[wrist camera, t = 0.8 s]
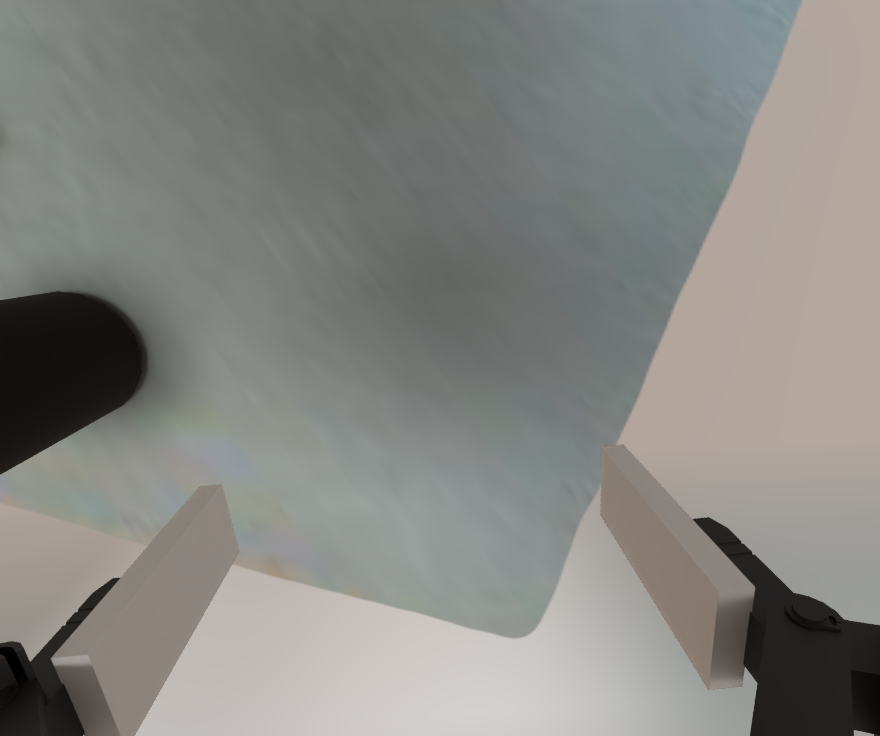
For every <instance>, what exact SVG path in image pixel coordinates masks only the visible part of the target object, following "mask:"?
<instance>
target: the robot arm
mask: <svg viewBox="0 0 880 736" xmlns="http://www.w3.org/2000/svg"><path fill="white" fill-rule="evenodd" d="M601 517H602V518H603V520H604V522H605V523H606V525H607V527H608V528H609V530H610V531H611V533H612V534H613V536H614V538H615V540H616V541H617V543H618V544H619V546H620V548H621V549H622V551H623V552H624V554H625V556H626V557H627V559H628V561H629V562H630V564H631V565H632V567H633V569H634V570H635V572H636V573H637V575H638V577H639V578H640V580H641V582H642V583H643V585H644V587H645V588H646V590H647V591H648V593H649V595H650V596H651V598H652V599H653V601H654V603H655V604H656V606H657V608H658V609H659V611H660V612H661V614H662V616H663V617H664V619H665V621H666V622H667V624H668V625H669V627H670V628H671V630H672V632H673V634H674V635H675V637H676V638H677V640H678V641H679V643H680V645H681V646H682V648H683V649H684V651H685V653H686V655H687V656H688V658H689V659H690V661H691V663H692V664H693V666H694V668H695V669H696V671H697V672H698V674H699V676H700V677H701V679H702V681H703V682H704V684H705V685H706V687H707V689H708V690H715V689H725V688H735V687H742V684H743V676H744V668H745V667H746V668H747V669H748V671H749V672H750V674H751V675H752V676H753V678H754V679H755V680H756V682H757V683H758V684H757V691H756V698H755V705H754V712H753V718H752V725H751V732H750V736H854V730H858V731H862V732H867V733H871V734H874V736H880V625H874V624H867V623H860V622H854V621H848V620H844V619H843V618H842V617H841V616H840V615H839V614H838V613H837V612H836V611H835V610H833V609H832V608H830V607H829V606H827V605H826V604H824V603H823V602H820V601H818V600H816V599H814V598H811V597H809V596H805V595H800V594H796V593H793V592H792V591H791V590H790V589H789V588H788V587H787V586H786V585H785V584H784V583H783V582H782V581H781V580H780V579H779V578H778V577H777V576H776V575H775V574H774V573H773V572H772V571H771V570H770V569H769V568H768V567H767V566H766V565H765V564H764V563H763V562H762V561H761V560H760V559H759V558H757V556H755V555H753V554H752V552H751V550H749V549H748V548H747V547H746V546H745V545H744V544H742V543H741V541H740V540H739V539H738V538H737V537H736V536H735V535H734V534H733V533H732V532H731V531H730V530H729V529H728V528H727V527H725V526H723V525H721V524H720V523H718V522H716V521H714V520H713V519H711V518H709V517H707V518H698V519H692V518H691V517H690V516H689V515H688V514H687V513H686V512H685V511H684V510H683V509H682V507H681V506H679V504H678V503H677V502H676V501H675V500H674V499H673V498H672V497H671V496H670V494H669V493H668V492H667V491H666V490H665V489H664V488H663V487H662V486H661V485H660V484H659V483H658V481H657V480H656V479H655V478H654V477H653V476H652V475H651V474H650V473H649V472H648V471H647V470H646V469H645V467H644V466H643V465H642V464H641V463H640V462H639V461H638V460H637V459H636V458H635V457H634V456H633V454H632V453H631V452H630V451H629V450H628V449H627V448H626V447H625V446H624V445H614V446H604V447H601ZM238 553H239V548H238V544H237V541H236V537H235V533H234V529H233V525H232V521H231V517H230V514H229V510H228V506H227V502H226V498H225V494H224V491H223V487H222V484H221V485H211V486H201V487H199V488H198V489H197V490H196V491H195V493H194V494H193V495H192V496H191V497H190V498H189V499H188V501H187V502H186V503H185V504H184V505H183V506H182V508H181V509H180V510H179V511H178V512H177V513H176V514H175V516H174V517H173V518H172V519H171V520H170V521H169V523H168V524H167V525H166V526H165V527H164V528H163V530H162V531H161V532H160V533H159V534H158V535H157V536H156V538H155V539H154V540H153V541H152V542H151V543H150V545H149V546H148V547H147V548H146V549H145V550H144V551H143V553H142V554H141V555H140V556H139V557H138V559H137V560H136V561H135V562H134V563H133V564H132V565H131V567H130V568H129V569H128V570H127V571H126V572H125V573H124V575H123V576H122V577H121V578H113V579H111V580H110V581H109V582H107V583H106V584H105V585H104V586H102V587H101V588H99V589H98V590H96V591H95V592H94V593H92V594H91V596H90V597H89V598H88V599H87V600H86V601H85V602H84V603H83V604H82V605H81V607H80V608H79V609H78V612H76V613H74V614H73V615H72V617H71V618H70V619H69V620H68V621H67V622H66V625H65V626H62V628H61V629H60V630H59V631H58V632H57V633H56V634H55V635H54V637H53V638H52V639H51V640H50V641H49V642H48V643H47V644H46V645H45V646H44V647H43V649H42V650H41V651H40V652H39V653H38V654H37V655H36V656H35V657H34V658H33V660H32V661H31V662H30V661H29V660H28V657H27V655H26V652H25V650H24V648H23V646H22V645H21V643H18V642H12V641H11V642H6V643H0V736H83V735H84V736H135V734H136V732H137V730H138V729H139V727H140V725H141V724H142V722H143V720H144V718H145V717H146V715H147V713H148V711H149V710H150V708H151V706H152V704H153V703H154V701H155V699H156V697H157V695H158V694H159V692H160V690H161V688H162V687H163V685H164V683H165V681H166V680H167V678H168V676H169V674H170V673H171V671H172V669H173V667H174V666H175V664H176V662H177V660H178V658H179V656H180V655H181V653H182V651H183V649H184V648H185V646H186V645H187V643H188V641H189V639H190V637H191V636H192V634H193V632H194V630H195V629H196V627H197V625H198V623H199V622H200V620H201V618H202V616H203V614H204V613H205V611H206V609H207V608H208V606H209V604H210V602H211V600H212V598H213V597H214V595H215V593H216V592H217V590H218V588H219V586H220V585H221V583H222V581H223V579H224V578H225V576H226V574H227V572H228V571H229V569H230V567H231V565H232V564H233V562H234V560H235V558H236V557H237V555H238Z"/></svg>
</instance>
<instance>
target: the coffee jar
mask: <svg viewBox="0 0 880 736" xmlns="http://www.w3.org/2000/svg"><path fill="white" fill-rule="evenodd" d="M140 374H141V354H140V350H139V347H138V344H137V342H136V339H135V336H134V334H133V333H132V332H131V330H130V329H129V328H128V326H127V325H126V324H125V322H124V321H123V320H122V319H121V318H120V317H119V316H117V315H116V314H115V313H114V312H112V311H111V310H110V309H109V308H107V307H106V306H105V305H104V304H101V303H99V302H97V301H94V300H92V299H90V298H87V297H85V296H83V295H80V294H73V293H65V292H58V291H57V292H51V293H44V294H38V295H32V296H25V297H19V298H12V299H6V300H0V474H2V473H4V472H6V471H8V470H9V469H11V468H13V467H15V466H16V465H18V464H20V463H22V462H23V461H25V460H27V459H29V458H31V457H32V456H34V455H36V454H38V453H39V452H41V451H43V450H45V449H46V448H48V447H50V446H52V445H53V444H55V443H57V442H59V441H61V440H62V439H64V438H66V437H68V436H69V435H71V434H73V433H75V432H76V431H78V430H80V429H82V428H84V427H85V426H87V425H89V424H91V423H92V422H94V421H96V420H98V419H99V418H101V417H103V416H105V415H107V414H108V413H110V412H112V411H114V410H115V409H117V408H119V407H121V406H122V405H124V403H125V402H126V401H127V400H128V399H129V398H130V396H131V395H132V394H133V393H134V392H135V389H136V386H137V383H138V380H139V377H140Z"/></svg>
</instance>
